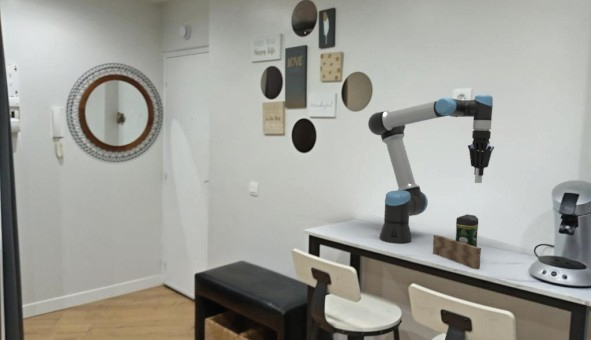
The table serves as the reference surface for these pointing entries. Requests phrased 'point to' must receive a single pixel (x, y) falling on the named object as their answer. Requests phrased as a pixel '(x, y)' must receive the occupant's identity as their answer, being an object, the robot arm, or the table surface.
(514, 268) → the table surface
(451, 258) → the board
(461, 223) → the coffee jar
